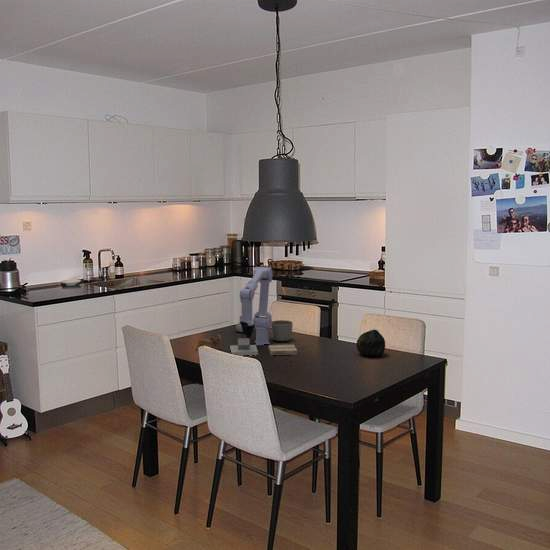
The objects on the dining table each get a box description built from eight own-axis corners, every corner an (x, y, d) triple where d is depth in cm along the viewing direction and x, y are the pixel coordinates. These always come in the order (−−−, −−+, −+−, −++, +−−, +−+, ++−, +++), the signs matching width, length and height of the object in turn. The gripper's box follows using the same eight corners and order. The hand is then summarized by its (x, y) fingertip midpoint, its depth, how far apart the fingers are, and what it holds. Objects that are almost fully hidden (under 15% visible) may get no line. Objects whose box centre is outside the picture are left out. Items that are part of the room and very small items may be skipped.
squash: (353, 340, 331) (358, 324, 320) (380, 341, 332) (386, 325, 321) (356, 362, 322) (361, 347, 310) (384, 363, 323) (390, 347, 311)
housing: (237, 347, 328) (237, 338, 327) (249, 347, 328) (248, 338, 328) (238, 349, 323) (238, 340, 323) (249, 349, 324) (249, 340, 323)
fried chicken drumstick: (221, 349, 334) (221, 333, 333) (222, 351, 329) (221, 335, 327) (195, 350, 332) (194, 334, 331) (194, 352, 327) (194, 336, 326)
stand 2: (268, 349, 334) (268, 344, 333) (293, 348, 335) (293, 344, 335) (271, 356, 320) (271, 351, 320) (297, 355, 322) (297, 350, 321)
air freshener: (241, 334, 369) (241, 318, 368) (233, 332, 375) (233, 316, 374) (255, 331, 376) (255, 316, 375) (247, 329, 382) (247, 313, 381)
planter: (266, 340, 354) (266, 322, 353) (282, 337, 362) (282, 319, 361) (281, 344, 345) (281, 325, 344) (296, 340, 353) (296, 322, 352)
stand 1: (230, 350, 332) (230, 345, 332) (255, 349, 334) (255, 344, 334) (231, 356, 318) (231, 352, 318) (257, 356, 320) (257, 351, 320)
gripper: (236, 309, 328) (236, 333, 330) (242, 314, 314) (242, 339, 316) (249, 308, 330) (249, 332, 332) (255, 313, 316) (255, 339, 318)
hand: (247, 336), depth 324 cm, fingers open, 7 cm apart
